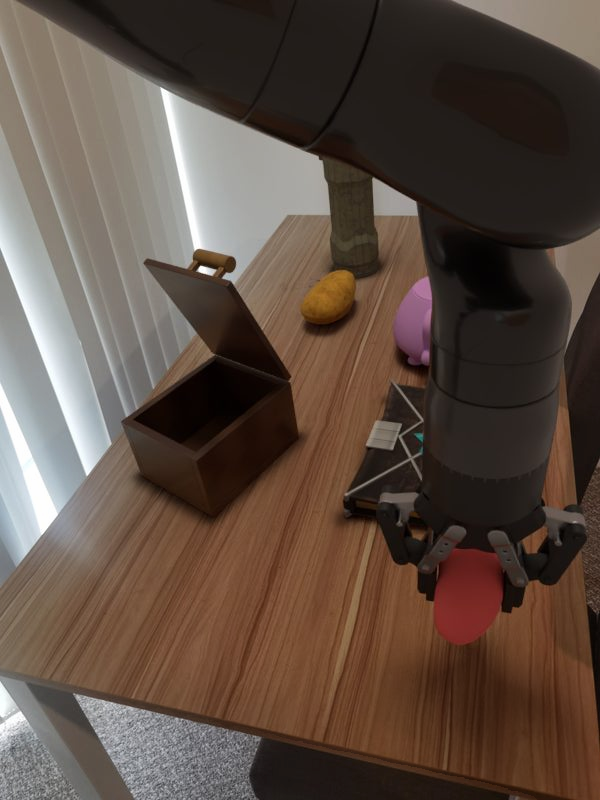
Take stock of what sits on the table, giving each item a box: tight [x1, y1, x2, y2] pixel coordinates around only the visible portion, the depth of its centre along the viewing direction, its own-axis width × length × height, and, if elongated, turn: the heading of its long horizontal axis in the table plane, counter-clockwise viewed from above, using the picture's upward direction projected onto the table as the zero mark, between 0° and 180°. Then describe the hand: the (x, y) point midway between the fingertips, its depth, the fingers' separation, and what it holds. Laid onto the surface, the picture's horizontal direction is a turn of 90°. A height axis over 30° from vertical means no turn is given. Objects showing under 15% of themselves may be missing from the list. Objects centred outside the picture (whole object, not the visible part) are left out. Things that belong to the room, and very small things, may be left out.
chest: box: [120, 354, 300, 518], centre depth 74 cm, size 16×13×9 cm
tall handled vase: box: [317, 156, 380, 279], centre depth 105 cm, size 9×12×35 cm
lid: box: [142, 248, 292, 382], centre depth 70 cm, size 17×13×5 cm
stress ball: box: [432, 548, 504, 646], centre depth 46 cm, size 5×9×6 cm, turn 154°
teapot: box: [392, 276, 432, 367], centre depth 86 cm, size 20×14×12 cm
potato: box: [299, 270, 357, 325], centre depth 100 cm, size 8×14×7 cm, turn 152°
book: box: [342, 379, 429, 528], centre depth 70 cm, size 22×17×5 cm
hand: (468, 596), depth 46 cm, fingers closed on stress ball, 5 cm apart
